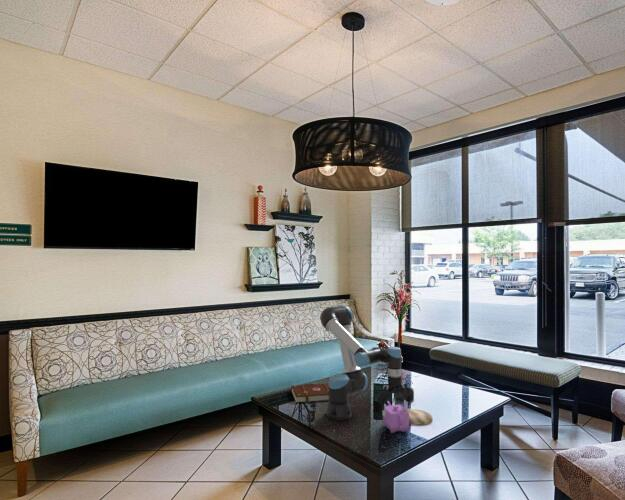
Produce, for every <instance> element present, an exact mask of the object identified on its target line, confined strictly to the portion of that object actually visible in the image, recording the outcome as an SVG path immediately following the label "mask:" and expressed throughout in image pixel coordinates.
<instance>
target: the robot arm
mask: <svg viewBox="0 0 625 500" xmlns="http://www.w3.org/2000/svg"><path fill="white" fill-rule="evenodd" d="M319 319H320V324H321V325H322V327H323V328H324V329H325V330H326V331H327V332H330V334H332V335H333V336H334V337H335V339H337V341H338V344H339V349H340V353H341V358H342V362H343V366H344V370H343V372H341V373H335V374H332V375H331V376H329V379H328V384H329V400H328V403H327V407H326V410H325V416H326V418H327V419H329V420H332V421H336V422H338V421H347V420H349V419H352V418H351V417H352V410H351V406H350V404H349V396H352V395H355V394H359V393H361V392H364V391H365V390H366V389H367V387H368V384H369V382H368V381H369V380H368V376H367V374H366V373H365V372H363V371H362V368H361V367H367V366H369V365H374V364H378V363H384V364H387V385H386V384H383V385H382V389H381V392H380V394H379V397H378V399H377V403H379V405H380V410H381V411H382V412H381V413H382V417H383V416H384V417H386V406H387V404H386V403H387V401H388V399H389V398H390V397H391V396H392V394H394V393H398V392H399V393H400V394H401V395H402V396H403V397H404V399H405V400H403V408H404V409H405V410H406V411H407V412H408V409H409V406H410V402H411V401H410V400H412V397H411V395H410V393H409V391H408V389H407V387H408V386H407V383H406V382H402V378H403V377H402V349H401V348H400V347H398V346H389V347H387V348H382V347H377V346H376V347H375V346H373V347H372V348H371V349H370V350H369V349H368V350H367V349H366V348H365V347H364V345H362V344H361V343H360V342H359V340H357V339H356V338H355V337H354V336H353V335H352V333H351V329H350V328H351V327H352V322H353V319H354V314H353V312H352V310H351V308H350V307H348V306H347V305H337V306H331V307H330V306H329V307H326V308H324V309H323V310H322V311H321V313H320V316H319ZM401 383H403V384H401ZM402 387H403V388H404V390H405V393H406V395H407V396H406V395H405V394H404V393H403V391H402V390H401V388H402Z"/></svg>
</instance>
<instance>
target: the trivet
mask: <svg viewBox="0 0 625 500" xmlns="http://www.w3.org/2000/svg"><path fill="white" fill-rule="evenodd" d="M408 413H409V425H411V426H427V425H429V424H431V423H432V422H433V416H432V414H431V413H429V412H427V411H425V410H421V409H416V408H408Z"/></svg>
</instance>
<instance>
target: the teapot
mask: <svg viewBox="0 0 625 500" xmlns="http://www.w3.org/2000/svg"><path fill="white" fill-rule="evenodd" d="M386 403H387V405H386V417H384V416H383V415H382V423H383V424H384V425H385V428H387V429H389V432H390V433H391V434H394V433H396V432H401V433H406V432H405V431H410V424H409V413H408V412H407V411H406V410H405V409H404V406H402V405H401V404H393V405H392V404H391V402H390V401H389V400H387V401H386Z"/></svg>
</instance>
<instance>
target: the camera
mask: <svg viewBox="0 0 625 500" xmlns="http://www.w3.org/2000/svg"><path fill="white" fill-rule="evenodd" d="M403 383H404V382H402V383H401V384H403ZM407 389H408V391H409V393H410V395H411V397H412V400H410V402H413V401H414V399H415V391H414V390H415V389H414V388H412V387H410V386H407ZM401 390H402V391H403V393H404V394H405V395H406V393H405V390H404V388H403V387H402V388H401ZM406 396H407V395H406ZM393 398H394V399H397V400H403V401H404V400H405V399H404V397H403V396H402V395H401V394H400V393H399V392H398V393H393Z"/></svg>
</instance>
